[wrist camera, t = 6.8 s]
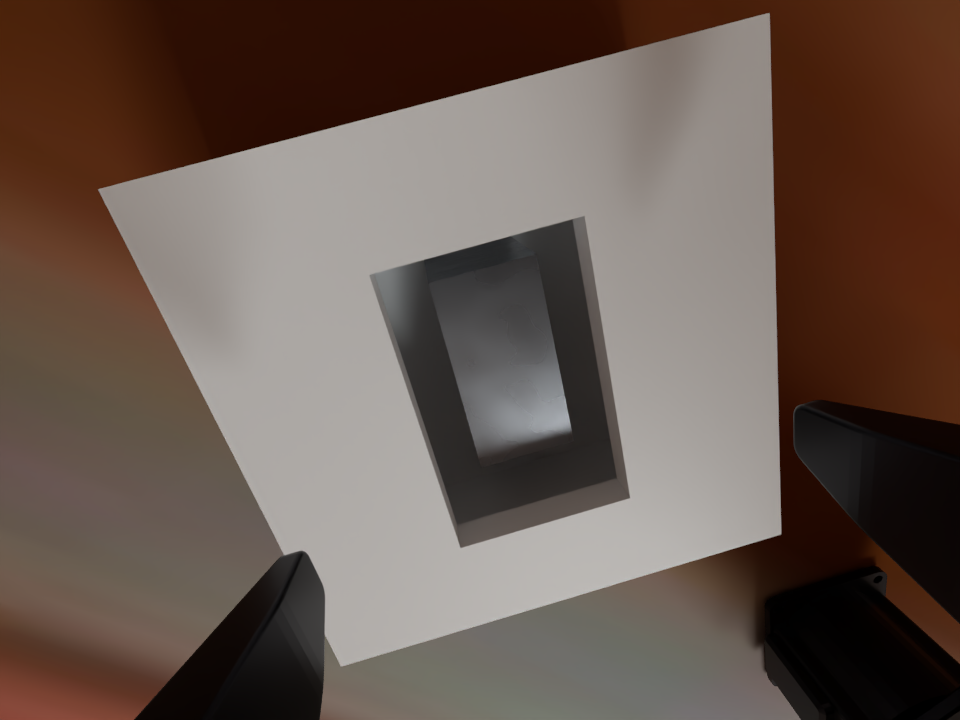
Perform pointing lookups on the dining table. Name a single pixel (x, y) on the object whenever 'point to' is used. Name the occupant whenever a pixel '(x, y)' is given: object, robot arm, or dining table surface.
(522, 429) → the silver metal block
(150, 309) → the dining table surface
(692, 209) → the box
